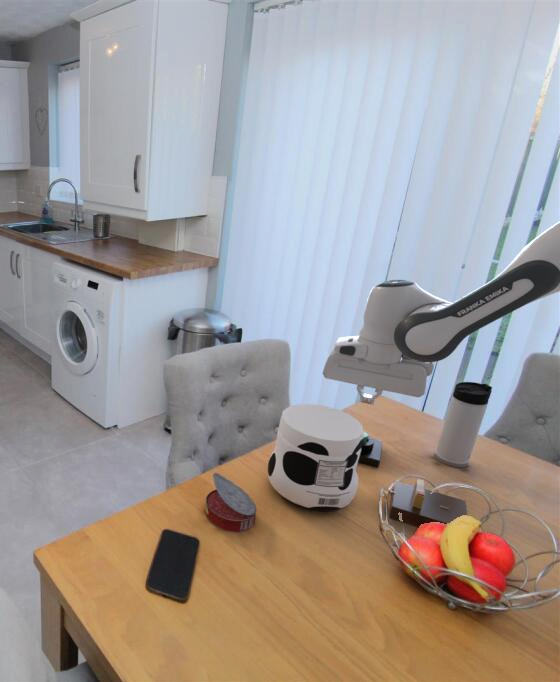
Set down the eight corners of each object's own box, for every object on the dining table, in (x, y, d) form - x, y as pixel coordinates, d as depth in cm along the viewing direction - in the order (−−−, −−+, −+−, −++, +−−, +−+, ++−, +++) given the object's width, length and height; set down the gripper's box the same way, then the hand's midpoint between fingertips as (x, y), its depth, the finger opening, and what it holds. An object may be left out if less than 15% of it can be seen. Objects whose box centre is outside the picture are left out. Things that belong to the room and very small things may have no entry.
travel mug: (475, 467, 112) (501, 391, 105) (447, 468, 112) (471, 392, 105) (455, 452, 118) (478, 379, 111) (427, 453, 118) (449, 380, 111)
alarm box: (380, 448, 121) (384, 434, 119) (377, 468, 113) (381, 454, 112) (335, 436, 126) (338, 423, 125) (329, 455, 119) (332, 441, 117)
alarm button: (367, 438, 119) (369, 432, 118) (366, 444, 116) (367, 438, 116) (350, 433, 121) (352, 427, 120) (349, 440, 118) (350, 434, 118)
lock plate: (461, 512, 99) (465, 499, 98) (464, 542, 91) (469, 529, 90) (385, 489, 106) (388, 477, 105) (382, 516, 99) (385, 503, 98)
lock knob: (413, 490, 101) (416, 477, 100) (421, 492, 100) (425, 480, 99) (412, 506, 97) (416, 493, 96) (421, 509, 96) (425, 496, 95)
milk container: (293, 459, 118) (304, 394, 111) (368, 497, 104) (387, 425, 98) (249, 486, 109) (259, 416, 103) (325, 531, 95) (342, 454, 89)
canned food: (217, 515, 107) (230, 472, 107) (259, 537, 99) (273, 491, 99) (187, 514, 100) (201, 469, 100) (230, 538, 92) (245, 489, 92)
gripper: (435, 354, 107) (420, 408, 112) (331, 336, 118) (321, 387, 123) (436, 364, 102) (419, 420, 107) (327, 345, 113) (317, 396, 118)
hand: (366, 402), depth 115 cm, fingers closed
